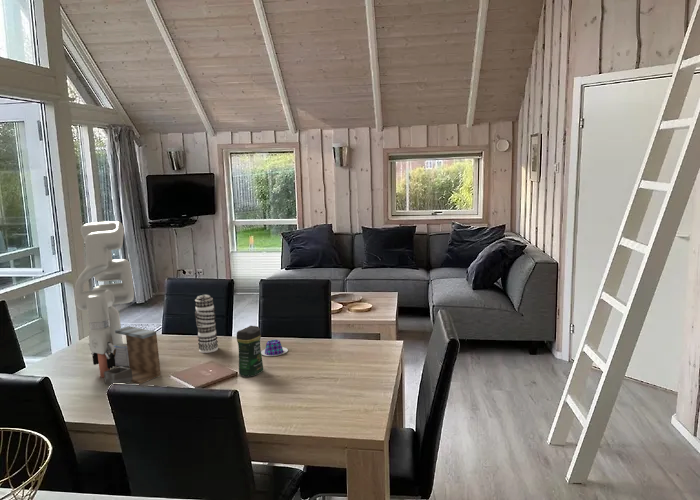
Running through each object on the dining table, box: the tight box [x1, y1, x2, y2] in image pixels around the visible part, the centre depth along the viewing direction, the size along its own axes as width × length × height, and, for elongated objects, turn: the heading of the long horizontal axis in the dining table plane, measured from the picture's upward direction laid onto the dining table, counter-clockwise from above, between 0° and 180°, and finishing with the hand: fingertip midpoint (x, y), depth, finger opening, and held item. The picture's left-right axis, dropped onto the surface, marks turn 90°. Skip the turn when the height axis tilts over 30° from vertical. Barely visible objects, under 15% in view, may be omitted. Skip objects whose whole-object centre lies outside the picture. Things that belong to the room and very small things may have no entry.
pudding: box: [261, 339, 289, 357], centre depth 241 cm, size 12×12×5 cm
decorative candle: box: [194, 294, 219, 354], centre depth 247 cm, size 9×9×25 cm
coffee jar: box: [236, 325, 264, 378], centre depth 216 cm, size 10×8×19 cm
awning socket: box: [103, 326, 162, 387], centre depth 217 cm, size 18×16×18 cm
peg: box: [98, 353, 111, 379], centre depth 222 cm, size 4×4×12 cm
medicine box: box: [114, 343, 130, 368], centre depth 235 cm, size 8×4×9 cm, turn 71°
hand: (104, 365), depth 222 cm, fingers open, 9 cm apart
